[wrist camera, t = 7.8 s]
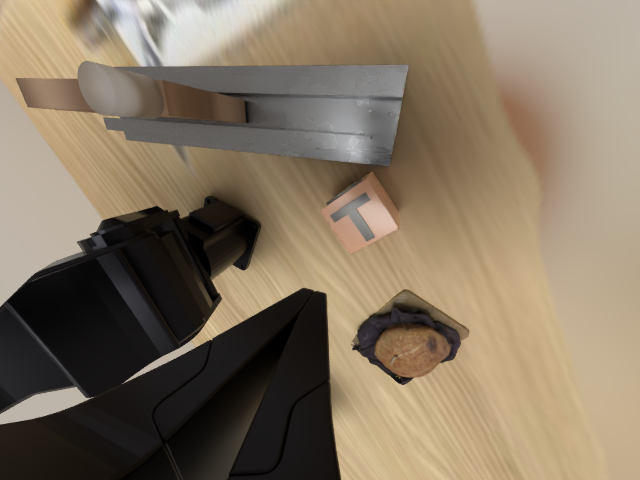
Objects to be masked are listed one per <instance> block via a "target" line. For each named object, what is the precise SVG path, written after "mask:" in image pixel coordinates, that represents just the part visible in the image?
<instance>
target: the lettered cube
mask: <svg viewBox="0 0 640 480" xmlns="http://www.w3.org/2000/svg"><path fill="white" fill-rule="evenodd" d="M326 204H327V205H326V206H324V207H323V208H322V209H321V210H320V213H321V214H322V215H323V217H324V218H325V220H326V221H327V222H328V224H329V225H330V227H331V228H332V229H333V231H334V232H335V234H336V235H337V236H338V238H339V239H340V241H341V242H342V243H343V245H344V246H345V248H346V249H347V250H348V252H349V253H350V254H352V253H354V252H356V251H358V250H360V249H362V248H364V247H365V246H367V245H369V244H371V243H373V242H375V241H377V240H379V239H381V238H382V237H384V236H386V235H388V234H390V233H392V232H394V231H396V230H398V229H399V212H398V210H397V208H396V207H395V205H394V204H393V202H392V201H391V199H390V198H389V196H388V195H387V193H386V191H385V190H384V188H383V187H382V185H381V184H380V182H379V181H378V179H377V178H376V176H375V175H374V173H373V171H372V172H370V173H369V174H368V175H366V176H365V177H363V178H362V179H360V180H358V181H357V182H355V183H354V182H353V183H352V184H350V185H349V186H347V187H346V188H345V189H344V190H343V191H342V192H341V193H340V194H338V195H337V196H335V197H334V198H332V199H331V200H330V201H328V202H327V203H326Z"/></svg>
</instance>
